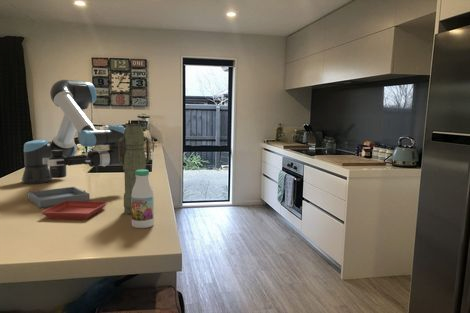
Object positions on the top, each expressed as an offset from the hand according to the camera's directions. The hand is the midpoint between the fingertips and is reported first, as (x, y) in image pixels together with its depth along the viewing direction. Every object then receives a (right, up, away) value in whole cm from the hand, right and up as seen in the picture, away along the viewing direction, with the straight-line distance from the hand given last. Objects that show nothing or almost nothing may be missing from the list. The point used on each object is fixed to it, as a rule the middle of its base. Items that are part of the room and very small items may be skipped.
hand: (45, 162), depth 154 cm
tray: (+3, -17, +5) cm, 18 cm away
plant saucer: (+20, -21, -14) cm, 32 cm away
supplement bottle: (+4, -7, +4) cm, 9 cm away
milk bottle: (+50, -22, -28) cm, 61 cm away
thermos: (+42, -20, -10) cm, 48 cm away
